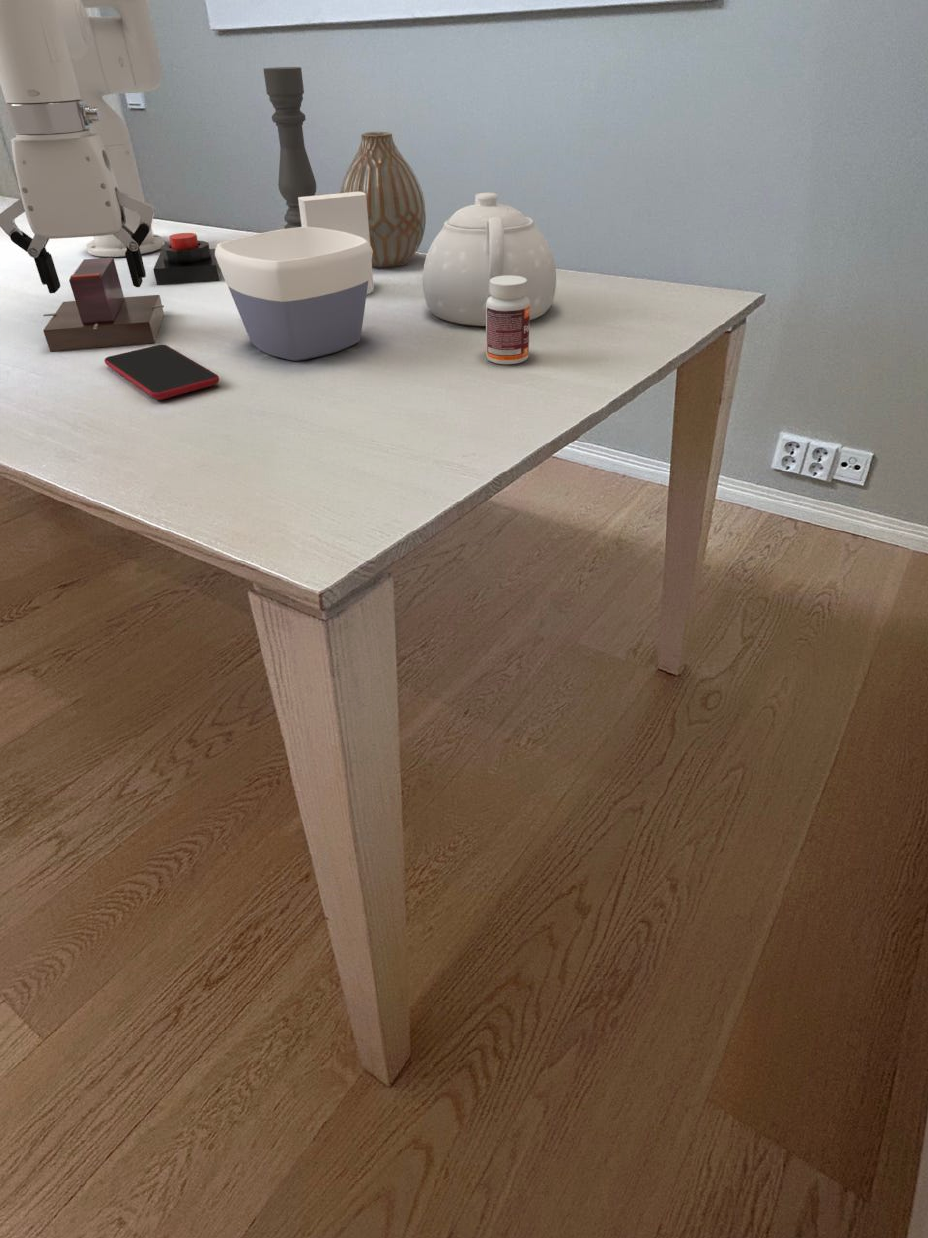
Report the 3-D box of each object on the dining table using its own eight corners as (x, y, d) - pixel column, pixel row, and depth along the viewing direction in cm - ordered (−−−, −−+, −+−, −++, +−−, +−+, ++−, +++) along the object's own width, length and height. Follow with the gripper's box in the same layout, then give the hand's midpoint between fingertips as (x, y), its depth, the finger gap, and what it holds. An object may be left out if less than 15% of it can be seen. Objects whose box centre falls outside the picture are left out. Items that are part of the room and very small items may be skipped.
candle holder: (320, 251, 132) (299, 68, 117) (283, 252, 132) (257, 69, 117) (326, 243, 137) (306, 66, 121) (290, 243, 137) (266, 67, 122)
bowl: (320, 315, 103) (308, 221, 97) (397, 341, 95) (390, 240, 88) (215, 344, 95) (194, 244, 88) (289, 376, 86) (272, 267, 79)
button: (173, 245, 121) (170, 233, 120) (199, 244, 122) (197, 231, 121) (170, 251, 118) (167, 239, 117) (198, 250, 119) (195, 237, 118)
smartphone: (164, 343, 93) (221, 376, 84) (166, 350, 93) (223, 385, 84) (101, 357, 89) (154, 394, 80) (103, 365, 90) (156, 403, 80)
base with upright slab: (320, 302, 108) (308, 204, 101) (303, 286, 115) (290, 193, 108) (382, 293, 111) (375, 198, 104) (362, 278, 118) (354, 187, 110)
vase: (359, 251, 131) (347, 127, 121) (436, 253, 129) (431, 127, 118) (332, 272, 121) (317, 138, 110) (416, 274, 119) (408, 139, 108)
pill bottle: (532, 363, 88) (535, 284, 83) (490, 366, 87) (490, 286, 82) (523, 349, 92) (525, 272, 87) (482, 352, 91) (482, 275, 86)
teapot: (388, 313, 104) (379, 196, 95) (482, 283, 114) (482, 176, 106) (496, 343, 93) (497, 215, 85) (589, 307, 104) (597, 190, 96)
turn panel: (62, 319, 104) (55, 298, 103) (173, 310, 107) (168, 290, 105) (38, 355, 93) (30, 332, 92) (163, 345, 95) (157, 322, 94)
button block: (164, 266, 126) (157, 239, 123) (222, 262, 127) (217, 235, 125) (156, 284, 117) (149, 255, 115) (219, 280, 119) (213, 251, 116)
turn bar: (96, 300, 102) (83, 257, 99) (124, 298, 103) (112, 255, 99) (82, 324, 94) (68, 277, 91) (113, 321, 95) (100, 275, 92)
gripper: (137, 115, 90) (173, 274, 101) (-26, 122, 88) (29, 285, 98) (128, 120, 85) (167, 289, 95) (-46, 128, 82) (13, 301, 92)
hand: (97, 287), depth 96 cm, fingers open, 9 cm apart
